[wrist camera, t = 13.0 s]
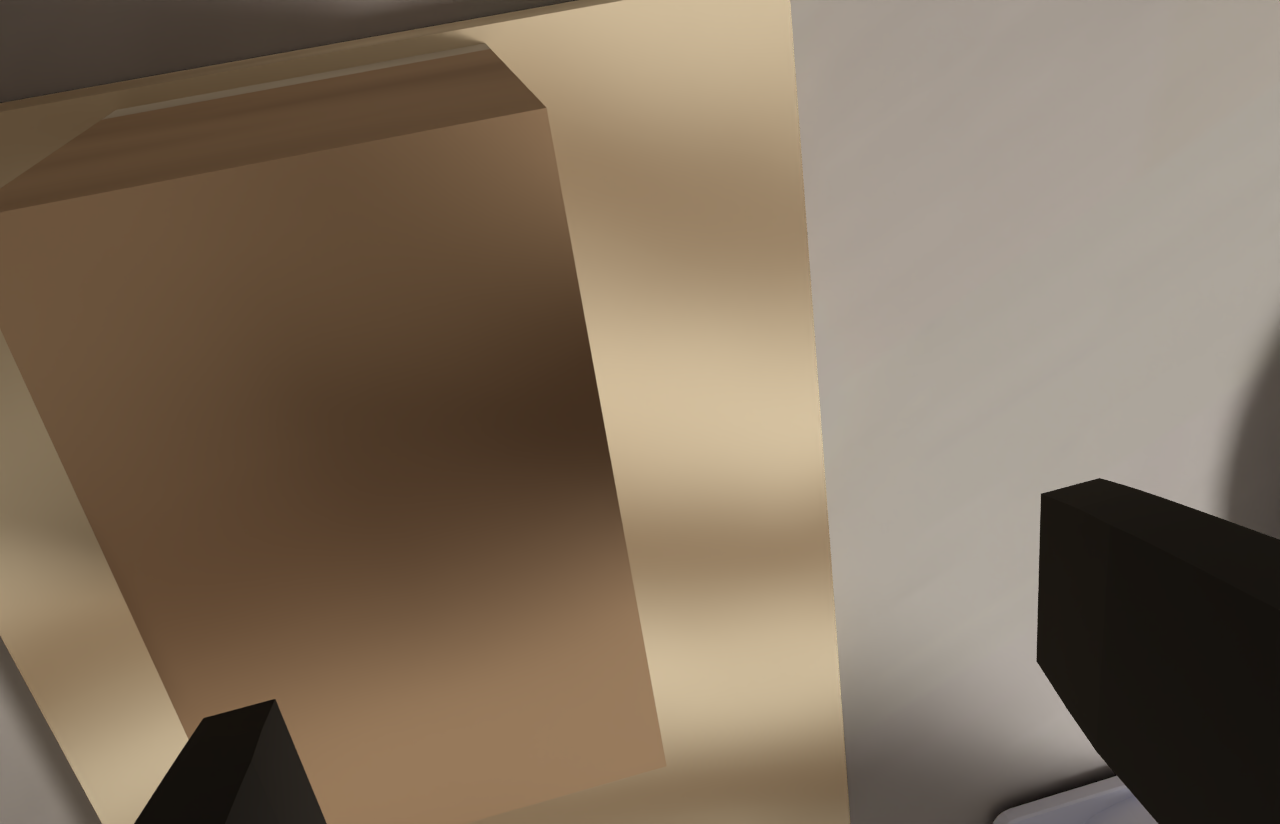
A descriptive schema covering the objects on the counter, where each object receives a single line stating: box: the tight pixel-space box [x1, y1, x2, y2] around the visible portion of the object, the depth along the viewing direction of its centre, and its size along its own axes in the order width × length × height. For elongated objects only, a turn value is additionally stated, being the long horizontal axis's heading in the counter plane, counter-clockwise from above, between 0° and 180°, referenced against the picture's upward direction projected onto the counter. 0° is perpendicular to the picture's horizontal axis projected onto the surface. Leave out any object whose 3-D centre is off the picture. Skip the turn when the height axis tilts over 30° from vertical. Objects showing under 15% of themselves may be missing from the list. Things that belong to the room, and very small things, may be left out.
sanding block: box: [0, 43, 667, 824], centre depth 13 cm, size 8×5×6 cm, turn 8°
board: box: [0, 0, 850, 824], centre depth 19 cm, size 18×14×1 cm
